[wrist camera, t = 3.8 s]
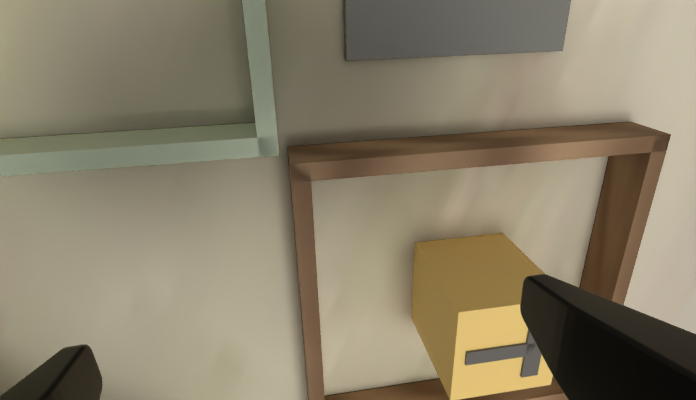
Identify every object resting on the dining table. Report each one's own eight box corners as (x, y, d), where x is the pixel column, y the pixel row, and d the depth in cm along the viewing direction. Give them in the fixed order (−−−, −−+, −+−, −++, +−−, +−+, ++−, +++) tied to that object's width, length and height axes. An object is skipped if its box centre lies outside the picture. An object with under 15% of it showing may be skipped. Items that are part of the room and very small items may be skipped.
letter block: (411, 317, 26) (451, 403, 20) (414, 241, 24) (459, 314, 18) (492, 306, 26) (552, 386, 21) (502, 232, 24) (571, 299, 19)
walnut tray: (308, 408, 27) (312, 445, 25) (287, 146, 20) (290, 164, 18) (572, 366, 30) (597, 396, 27) (630, 121, 23) (670, 134, 21)
